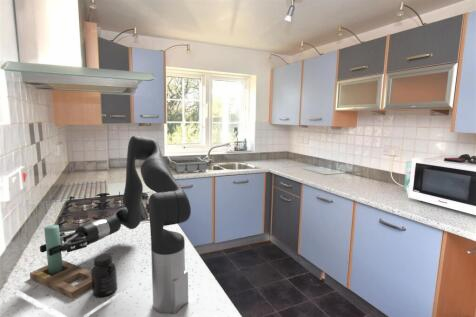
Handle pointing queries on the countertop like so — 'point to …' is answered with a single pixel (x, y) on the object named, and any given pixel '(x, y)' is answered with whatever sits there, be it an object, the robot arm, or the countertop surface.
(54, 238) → the peg
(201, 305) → the countertop surface
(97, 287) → the supplement bottle
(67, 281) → the hole board
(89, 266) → the tab
